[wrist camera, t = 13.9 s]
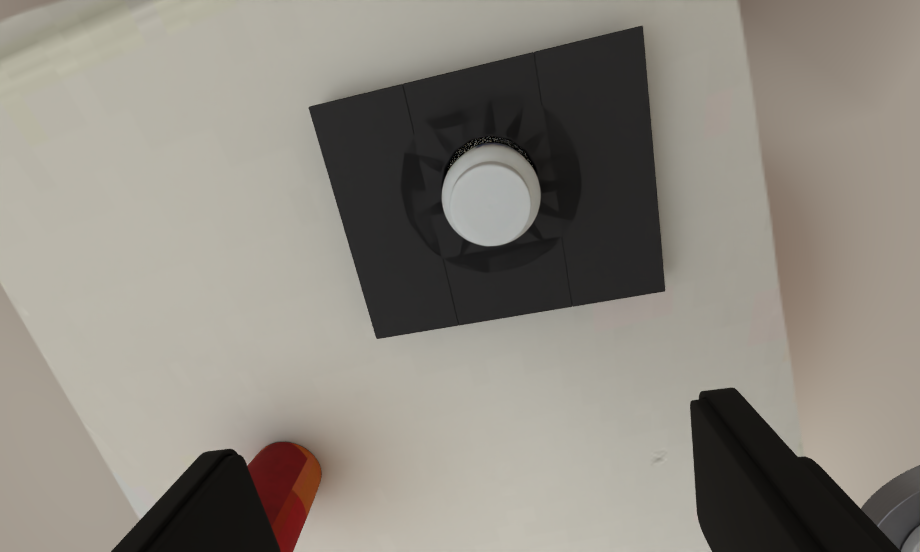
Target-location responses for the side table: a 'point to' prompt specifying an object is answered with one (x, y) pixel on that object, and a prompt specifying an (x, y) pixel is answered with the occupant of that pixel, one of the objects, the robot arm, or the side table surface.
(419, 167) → the socket pad
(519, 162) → the pill bottle
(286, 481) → the coffee cup
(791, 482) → the robot arm
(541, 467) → the side table surface
